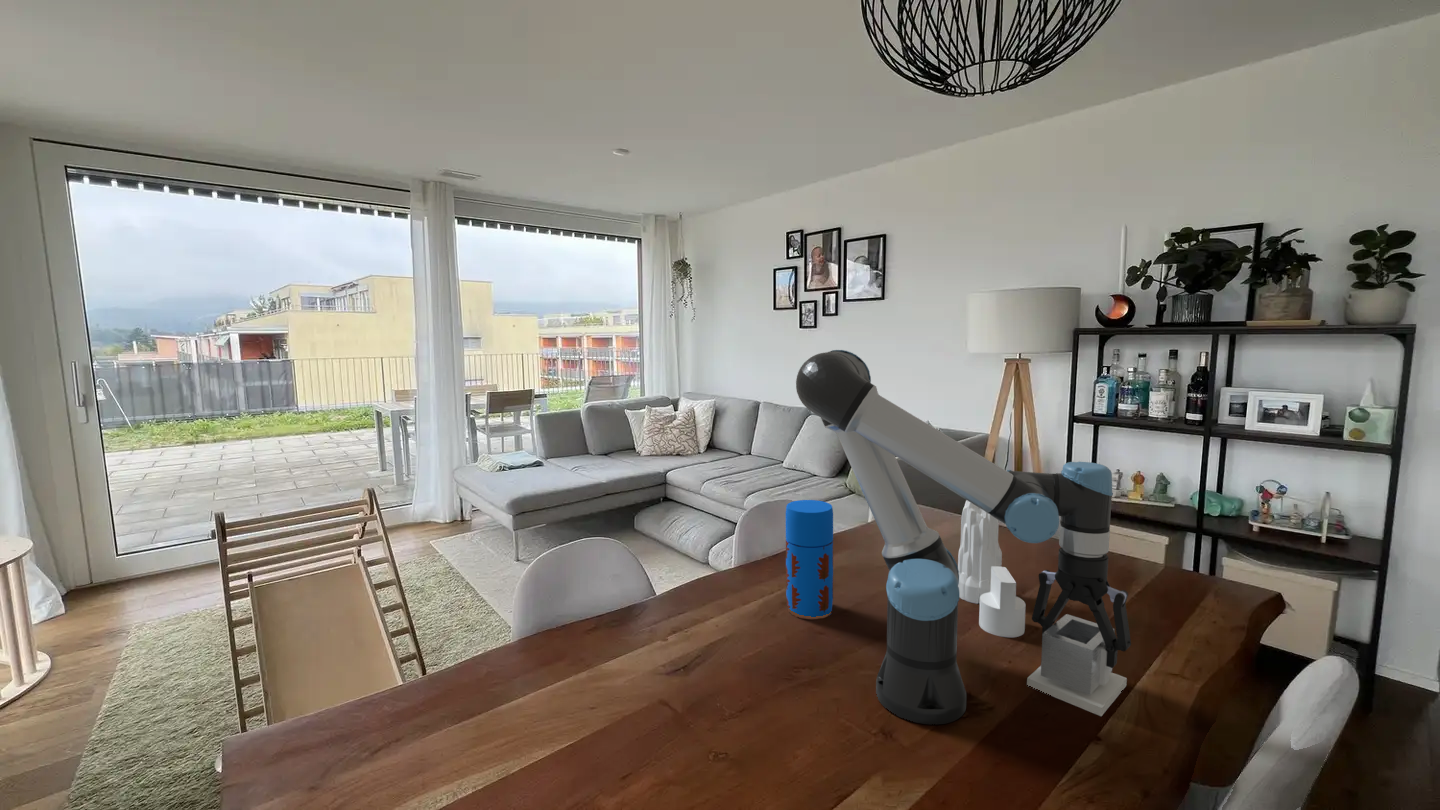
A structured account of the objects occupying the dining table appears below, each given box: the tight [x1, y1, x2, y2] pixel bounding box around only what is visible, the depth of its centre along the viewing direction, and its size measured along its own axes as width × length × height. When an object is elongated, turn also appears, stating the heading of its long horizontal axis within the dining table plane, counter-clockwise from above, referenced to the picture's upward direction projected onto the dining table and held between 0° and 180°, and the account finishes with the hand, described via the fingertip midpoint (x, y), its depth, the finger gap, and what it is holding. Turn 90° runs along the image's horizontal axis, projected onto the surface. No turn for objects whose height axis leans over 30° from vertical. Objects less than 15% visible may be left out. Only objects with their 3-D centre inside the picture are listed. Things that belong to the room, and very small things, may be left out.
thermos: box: [785, 499, 834, 617], centre depth 140 cm, size 11×11×25 cm
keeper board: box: [1026, 665, 1128, 717], centre depth 109 cm, size 13×12×7 cm
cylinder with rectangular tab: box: [978, 566, 1026, 638], centre depth 131 cm, size 9×9×12 cm
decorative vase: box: [957, 499, 1003, 605], centre depth 146 cm, size 11×11×25 cm
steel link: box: [1040, 613, 1116, 695], centre depth 108 cm, size 11×8×8 cm
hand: (1077, 671), depth 109 cm, fingers closed on steel link, 8 cm apart
